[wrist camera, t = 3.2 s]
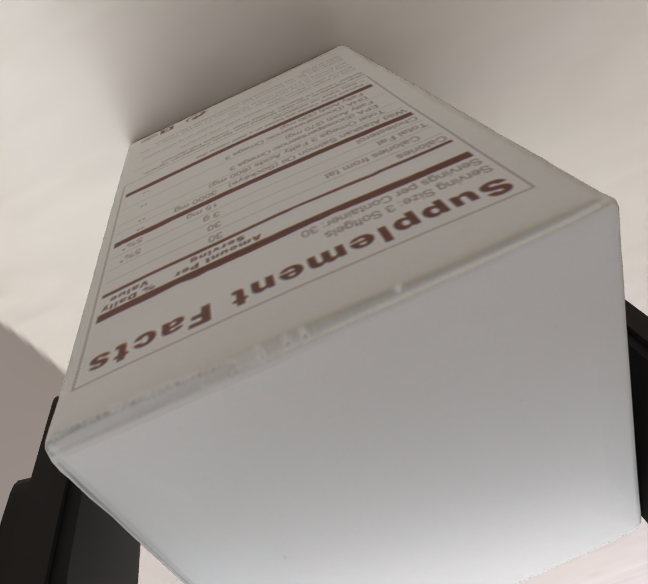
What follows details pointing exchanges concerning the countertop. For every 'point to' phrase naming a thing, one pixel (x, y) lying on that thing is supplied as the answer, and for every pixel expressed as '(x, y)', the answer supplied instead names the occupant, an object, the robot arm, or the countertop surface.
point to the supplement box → (352, 345)
